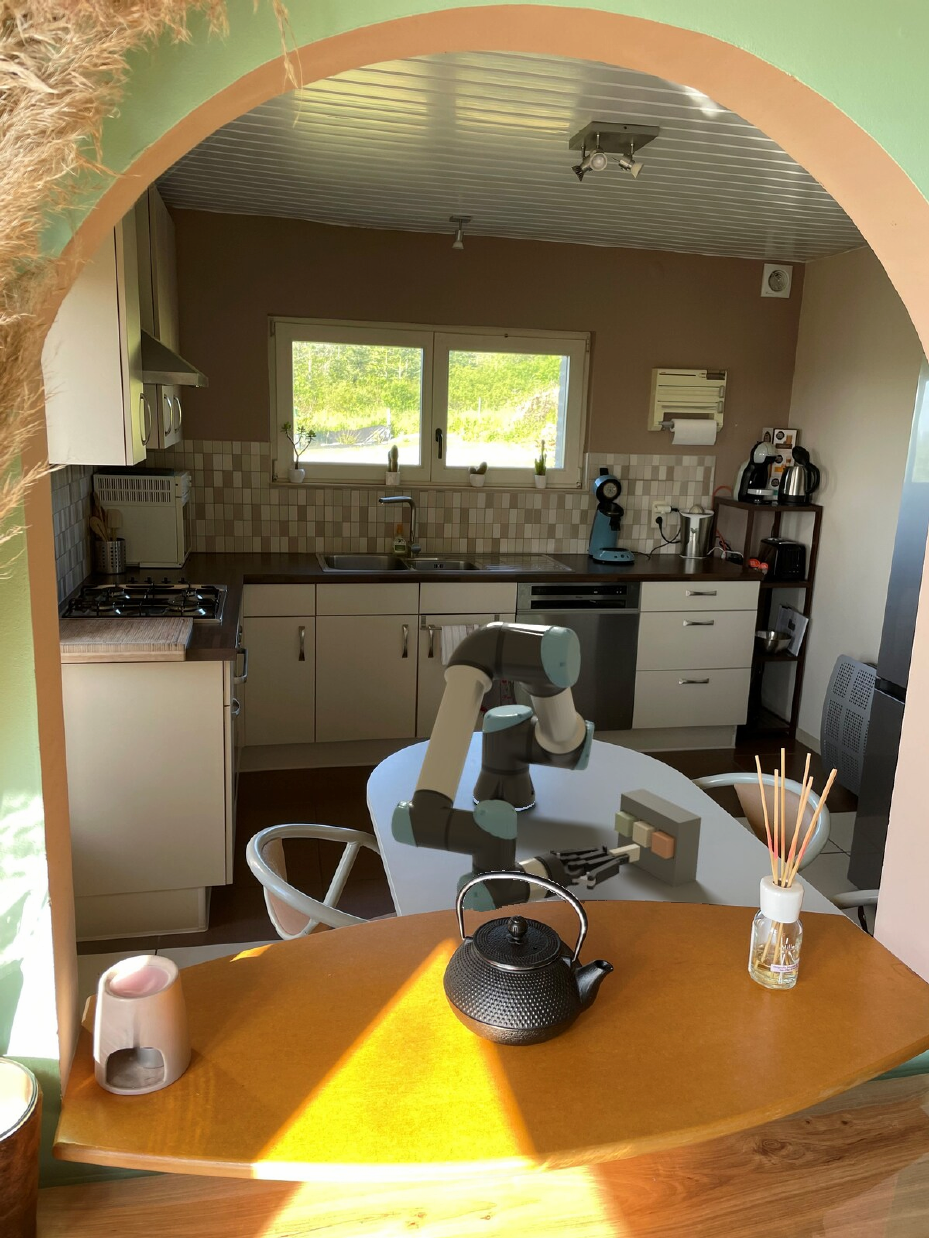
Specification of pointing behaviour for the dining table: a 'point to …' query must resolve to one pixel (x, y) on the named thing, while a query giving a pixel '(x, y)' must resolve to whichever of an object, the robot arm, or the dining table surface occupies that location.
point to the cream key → (643, 833)
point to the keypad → (672, 823)
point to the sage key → (624, 823)
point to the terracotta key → (663, 844)
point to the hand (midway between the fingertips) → (636, 851)
